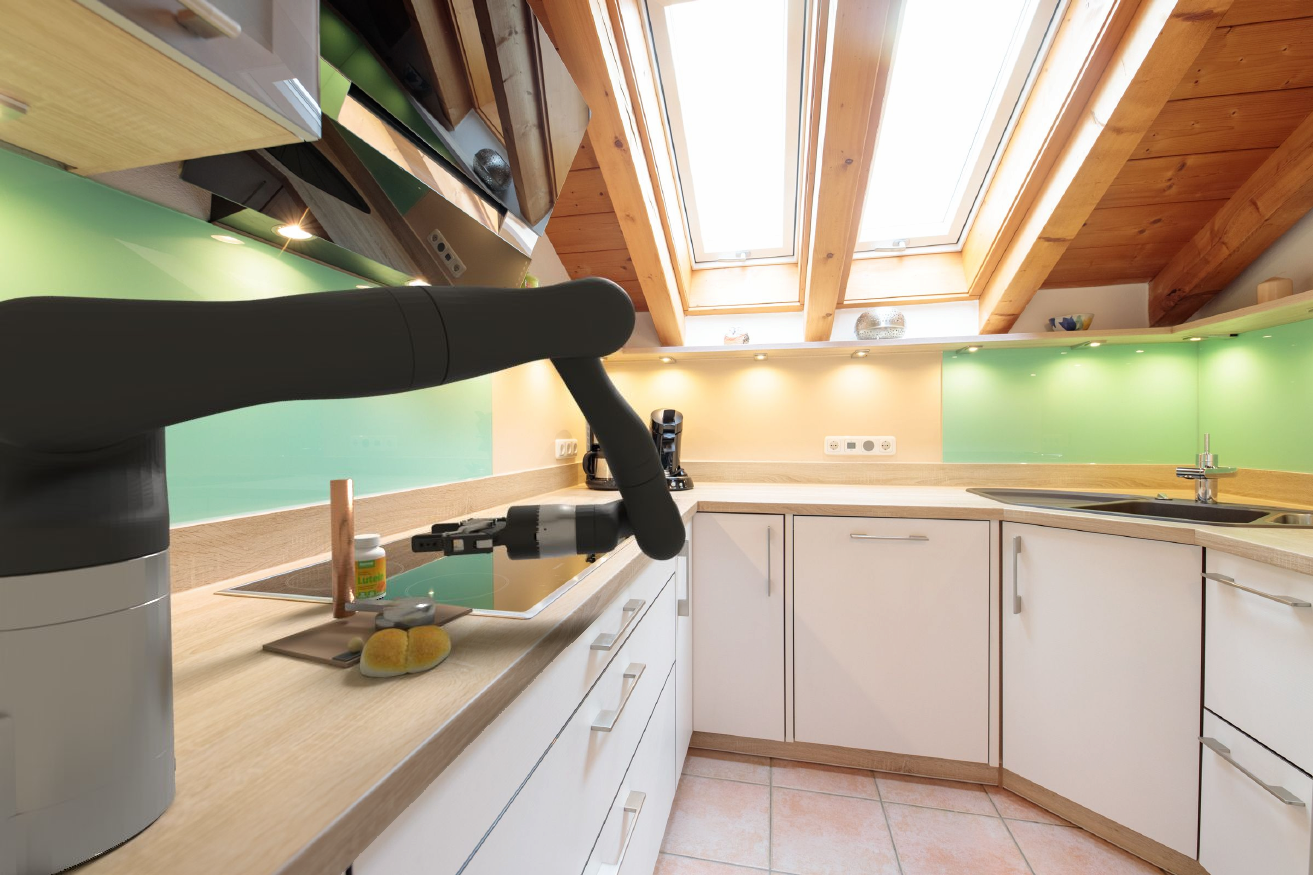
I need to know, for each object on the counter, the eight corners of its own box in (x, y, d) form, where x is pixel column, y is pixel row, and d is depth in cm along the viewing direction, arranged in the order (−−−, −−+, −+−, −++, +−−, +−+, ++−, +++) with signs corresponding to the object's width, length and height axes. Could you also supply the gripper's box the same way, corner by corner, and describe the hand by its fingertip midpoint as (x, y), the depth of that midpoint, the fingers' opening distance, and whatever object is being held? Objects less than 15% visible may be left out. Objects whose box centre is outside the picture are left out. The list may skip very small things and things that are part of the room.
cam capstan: (445, 615, 69) (442, 477, 69) (413, 633, 63) (409, 481, 63) (355, 609, 72) (352, 477, 72) (315, 626, 66) (312, 482, 66)
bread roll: (453, 669, 56) (452, 631, 56) (357, 687, 52) (356, 647, 52) (449, 641, 63) (448, 608, 63) (365, 655, 60) (364, 621, 60)
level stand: (347, 667, 56) (346, 646, 56) (262, 649, 61) (261, 630, 61) (472, 611, 73) (472, 595, 73) (397, 601, 79) (397, 586, 79)
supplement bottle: (356, 606, 77) (354, 540, 77) (340, 599, 80) (339, 537, 80) (392, 596, 81) (391, 534, 81) (376, 591, 85) (375, 531, 85)
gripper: (546, 498, 80) (436, 503, 78) (538, 512, 66) (403, 518, 64) (547, 547, 80) (438, 553, 78) (539, 570, 66) (405, 578, 64)
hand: (422, 537), depth 71 cm, fingers open, 8 cm apart
